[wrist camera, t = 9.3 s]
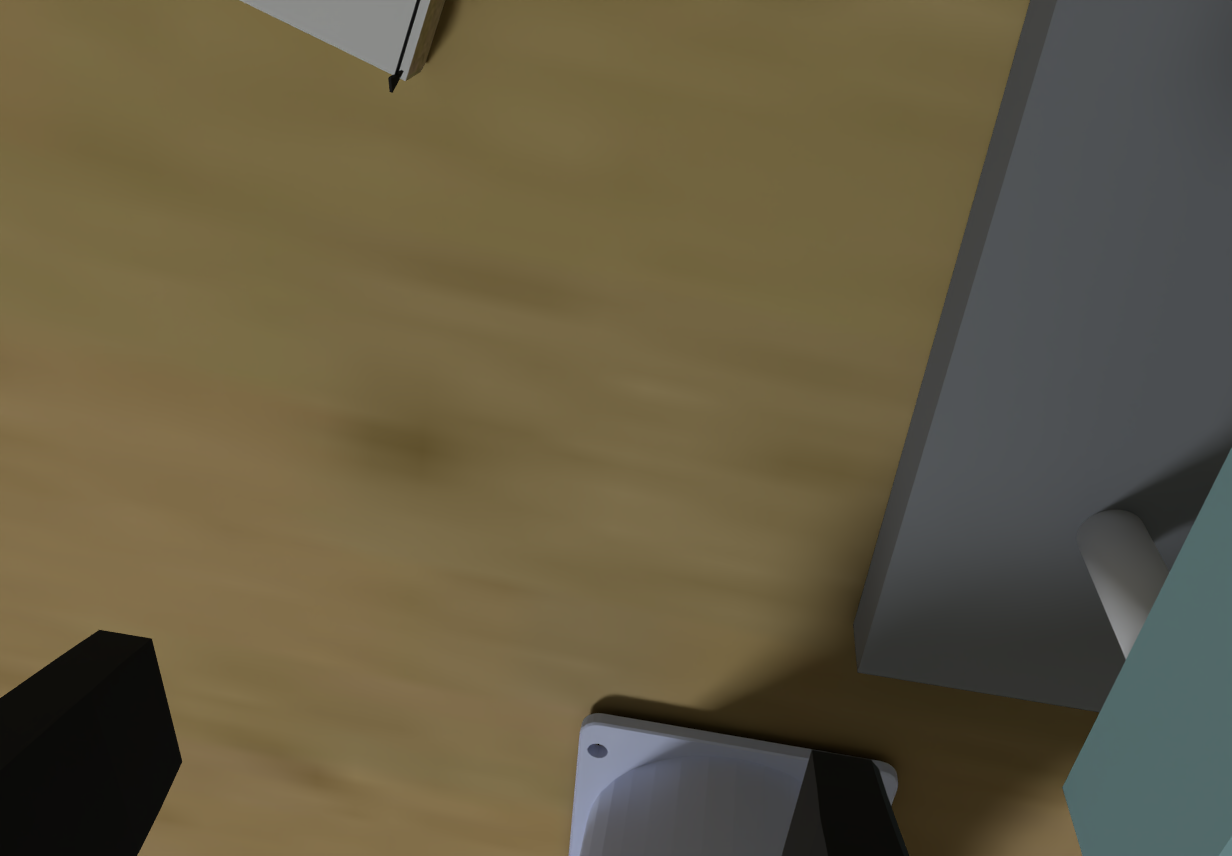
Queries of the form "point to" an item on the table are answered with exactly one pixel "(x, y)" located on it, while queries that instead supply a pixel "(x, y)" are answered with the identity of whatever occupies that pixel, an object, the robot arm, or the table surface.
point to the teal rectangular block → (1169, 714)
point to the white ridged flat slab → (367, 29)
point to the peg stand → (1069, 365)
